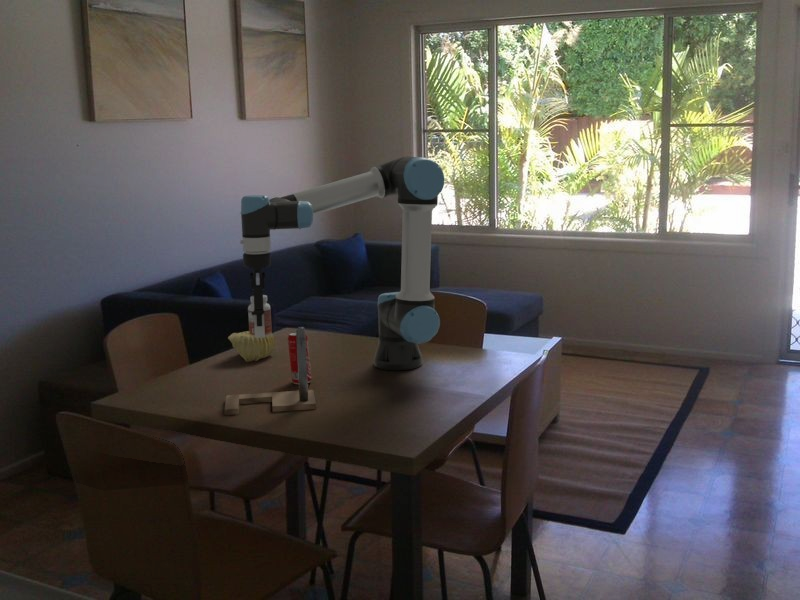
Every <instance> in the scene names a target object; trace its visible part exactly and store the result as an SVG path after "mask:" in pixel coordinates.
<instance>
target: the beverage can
mask: <svg viewBox="0 0 800 600" xmlns="http://www.w3.org/2000/svg"><path fill="white" fill-rule="evenodd" d="M305 337H306V358H307V380H308V384H309V383H311V382H312V380H313V379H312V370H311V361H310V352H309V350H310V349H309V339H308V334H307V333H306V331H305ZM287 344H288V353H289V362H290V373H291V382H292V383H293V384H294V385H299V379H298V359H297V338H296V331H293V332H289V333H288V337H287Z"/></svg>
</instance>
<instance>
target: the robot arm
mask: <svg viewBox="0 0 800 600" xmlns="http://www.w3.org/2000/svg"><path fill="white" fill-rule="evenodd" d="M444 174H445V173H444V172H443V169H442V167H441V166H440V165H439V163H437V162H436V161H434V160H433V159H430V158H427V157H424V156H402V157H398V158H396V159H392V160H389V161H387V162H385V163H381V164H378V165H376V166H372V167H371V168H370V170H369V171H366V172H364V173H360V174H357V175H353V176H349V177H347V178H343V179H339V180H337V181H333V182H329V183H326V184H322V185H318V186H316V187H312V188H308V189H306V190H305V189H304V190H301V191H298V192H294V193H292V194H288V195H285V196H281V197H279V196H278V197H277V196H276V197H271V198H269V196H268V195H266V194H251V195H249V194H248V195H244V196H243V197H242V198H241V201H240V203H241V205H240V214H241V215H240V216H241V235H242V240H241V239H240V241H239V244H240V245H242V251H243V254H242V262H243V264H242V265H243V267H245V268H247V269H250V268H251V269H253V270H252V272H250V273H249V274H250V275H249V276H250V281H251V290H252V291H253V296H254V312H252V315H254V326H255V338H264V337H265V326H264V314H263V313H264V310H263V295H264V292H263V291H264V290H265V280H266V275H265V274H266V272H265V271H264V272H263V271H262V269H263V268H268V267H271V266H272V258H271V257H272V254H271V253H270V251H271V248H272V247H271V231H272V230H273V231H275V230H289V229H290V230H292V229H293V230H295V229H298V230H301V229H308V228H311V226H312V224H313V222H314V215H317V214H320V213H325V212H328V211H332V210H335V209H338V208H341V207H345V206H347V205H351V204H354V203H359V202H362V201H364V200H368V199H371V198H374V197H378V199H379V198H380V199H383V198H386V197H391V196H397V205H398V206H399V207H400V208H401V210H402V219H401V220H402V221H401V222H402V225H401V226H402V227H401V228H402V229H401V230H402V231H401V268H400V269H401V272H400V273H401V274H400V291H395V292H385V293H381V294H379V296H378V297H377V305H376V306H377V313H378V314H377V318H378V320H377V321H378V322H377V323H378V343H377V347H376V350H375V354H374V356H373V364H374V365H373V366H374V367H375V368H378V369H380V370H385V371H407V370H412V369H413V370H414V369H416V368H419V367H421V366H422V365H423V355H422V353H421V350H420V347H419V344H425V343H428V342H429V341H431V340H432V339H433V338H434V337H435V336H436V335H437V334H438V331H439V330H440V326H441V319H440V316H439V314H438V312H437V310H436V309H435V300H436V299H435V296H434V295H433V293H432V292H431V290H430V288H431V285H430V284H431V262H432V261H431V257H432V254H431V253H432V226H433V225H432V223H433V222H432V221H433V210H434V209H435V208H436V207H437V206H438V203H439V202H438V201H439V200H438V198H439V194H441V192H442V191H443V189H444V187H445V186H444V185H445V175H444Z"/></svg>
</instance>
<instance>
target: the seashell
mask: <svg viewBox="0 0 800 600" xmlns="http://www.w3.org/2000/svg"><path fill="white" fill-rule="evenodd" d="M227 339H228V340H229V341H230V343H231V345H232V348H233V349H235V351H236V352H238V354H239V355H240V356H241V358H242V359H244V361H245V362H246V363H248V362H254V361H255V362H257V361H259V360H261V359H265V358H266V357H269V356H270V355H272V353H273V352H274V351H275V349H276V339H275V337H274V335H273V333H272V334H271V335H270V336H267V337H264V338H255V337H251V336H250V334H249V330H246V331H242V332H233V333H231V334H230V335H228V337H227Z"/></svg>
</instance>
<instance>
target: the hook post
mask: <svg viewBox="0 0 800 600" xmlns="http://www.w3.org/2000/svg"><path fill="white" fill-rule="evenodd" d="M295 332H296V338H297V359H298V379H299V384H298V391H299V400H300V401H301V402H306V401H308V390H309V383H308V380H307V358H306V337H305V332H306V329H305V327H304V326H298V327H297V329H296V330H295Z"/></svg>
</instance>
